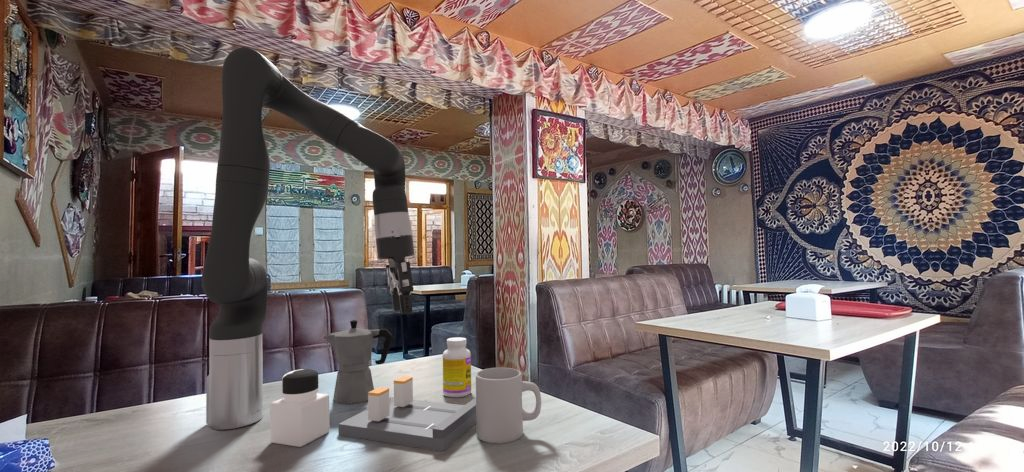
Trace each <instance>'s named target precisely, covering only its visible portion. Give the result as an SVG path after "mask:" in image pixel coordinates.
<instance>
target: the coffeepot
mask: <svg viewBox="0 0 1024 472" xmlns="http://www.w3.org/2000/svg"><path fill="white" fill-rule="evenodd" d="M349 323H350V328H348V329H345V330H341V331H337V332H332V333H329V334H326V335H324V337H323V339H325V340H327V342H328V343H329V344H330V346H331V347H332V349H333V351H334V352H335V357H336V362H337V364H338V371H337V373H336V380H335V386H334V392H333V400H334V402H335V403H337V404H340V405H351V404H353V405H354V404H359V403H364V402H368V392H370V391H372V390H374V389H375V387H374V383H373V376H372V370H371V368H370V361H371V360H372V355H373V353H372V352H373V346H374V341H375V339H377V338H382V337H383V338H385V340H384V341H383V348H382V350H381V353H380V359H378V360H377V359H376V360H375V361H374V362H375V364H376V365H381V364H382V365H383V364H385V362H386V360H387V357H388V354H389V351H390V348H391V344H392V341H393V339H394V337H393V334H392V333H391V332H390V331H389V329H387V328H380V329H378V328H377V329H367V328H361V327H357V326H358V320H356V319H351V320H350V321H349Z"/></svg>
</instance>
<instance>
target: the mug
mask: <svg viewBox="0 0 1024 472" xmlns="http://www.w3.org/2000/svg"><path fill="white" fill-rule="evenodd" d="M526 391H528V392H532V393H534V396H535V406H534V407H535V408H534V409H533V410H531V411H528V410H525V409H523V392H526ZM475 399H476V424H475V430H476V431H475V432H476V434H475V435H476V436H477V438H478V439H479V440H480V441H482V442H485V443H487V444H489V443H490V444H507V443H511V442H514V441H517V440H519V439H520V438H522V436H523V433H524V423H523V422H526V421H528V422H529V421H533V420H536V419H537V418H538V417H539V416H540V413H541V410H542V409H541V408H542V395H541V391H540V388H539V386H538V385H537V384H536V383H535V382H531V381H527V380H526V381H524V380H523V379H522V373H521V371H520V370H519V369H516V368H511V367H490V368H485V369H482V370H479V371H478V372H476V374H475Z"/></svg>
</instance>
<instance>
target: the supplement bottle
mask: <svg viewBox="0 0 1024 472" xmlns="http://www.w3.org/2000/svg"><path fill="white" fill-rule="evenodd" d="M467 343H468V342H467V338H466V337H459V336H458V337H449V338H447V339H446V346H447V349H445V350H444V351H443V352H442V393H443V396H445V397H448V398H462V397H463V398H464V397H467V396H468V395H470V394H471V392H472V354H471V350H470V349H468V348H467Z"/></svg>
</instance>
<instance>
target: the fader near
mask: <svg viewBox="0 0 1024 472" xmlns="http://www.w3.org/2000/svg"><path fill="white" fill-rule="evenodd" d="M389 398H390V387H389V388H387V387H380V386H378V387H377V388H374V390H372V391H370V392H368V400H367V409H368V420H371V421H381V420H382V419H384V418H386V417H388V416H389Z"/></svg>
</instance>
